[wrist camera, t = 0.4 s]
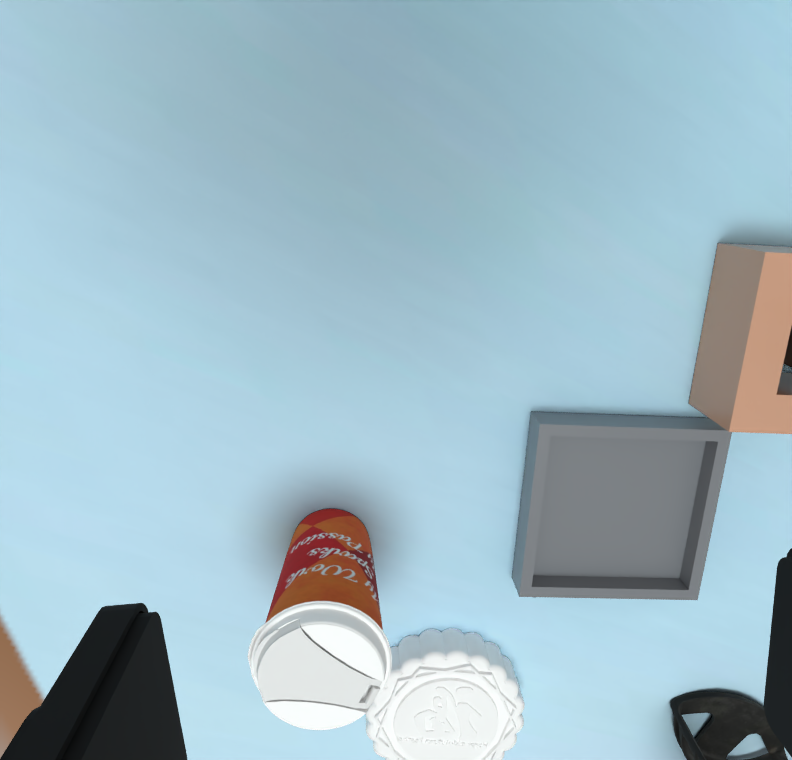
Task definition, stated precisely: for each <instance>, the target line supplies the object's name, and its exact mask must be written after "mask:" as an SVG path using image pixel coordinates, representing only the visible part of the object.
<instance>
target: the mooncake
mask: <svg viewBox="0 0 792 760" xmlns="http://www.w3.org/2000/svg"><path fill="white" fill-rule="evenodd" d="M390 648H391V655H392V666H391V671H390V676H389V678H388V681H387V683H386V685H385V687H384V688H383V690H382V691H381V693H380V694H379V695H378V696H377V698H376V699H375V700H374V702H373V703H372V705H370V706H369V708H368V711H367V712H366V713H365V714H366V733H367V735H368V737H369V738H370V739H371V740H373V748H374V751H375V752H376V754H378V755H379V756H381V757H385V758H386V760H502V759H503V757H504V751H507V750H509V749H511V748H512V747H513V746H514V745H515V743H516V741H517V735H516V733H518V732H519V731H520V730H521V729H522V727H523V724H524V720H523V716H522V712H523V710H524V700H523V697H522V694H521V691H520V687H519V684H518V681H517V678H516V676H515V674H514V670H513V667H512V664H511V661H510V660H509V659H508V658H507V657H506V656H503V655H501V652H500V649H499V647H498V646H497V645H496V644H495V643H492V642H484V640H483V638H482V637H481V636H480V635H479V634H477V633H473V632H470V633H466V634H463V632H462V631H460V630H459V629H456V628H448V629H445V630H444V631H442V632H440V631H439V630H436V629H428V630H425V631H423V632H422V633H421V634H420V635H419V636H416V635H410V636H406V637H404V638H403V639H402V640H401V641H400V643H399V646H393V647H390Z"/></svg>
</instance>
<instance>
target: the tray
mask: <svg viewBox="0 0 792 760" xmlns="http://www.w3.org/2000/svg"><path fill="white" fill-rule="evenodd" d="M731 434H732V432H729V431H727V430H726V429H724V428H723V427H721V426H720V425H719V424H717V423H716V422H714V421H713V420H711V419H710V418H698V417H670V416H642V415H614V414H585V413H557V412H531V415H530V424H529V433H528V441H527V450H526V459H525V467H524V476H523V485H522V493H521V502H520V511H519V519H518V528H517V537H516V545H515V554H514V563H513V571H512V579H513V581H514V584H515V587H516V589H517V592H518V595H519V597H565V598H617V599H670V600H698V595H699V590H700V585H701V580H702V576H703V571H704V566H705V561H706V556H707V551H708V546H709V541H710V536H711V532H712V527H713V522H714V517H715V512H716V507H717V502H718V497H719V492H720V488H721V483H722V478H723V473H724V468H725V463H726V458H727V453H728V448H729V444H730V439H731Z"/></svg>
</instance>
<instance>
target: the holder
mask: <svg viewBox="0 0 792 760" xmlns="http://www.w3.org/2000/svg"><path fill="white" fill-rule="evenodd" d="M670 705H671V708H672V710H673V714H674V723H673V724H674V731H675V736H676V738H677V741H678V743H679V745H680V747H681V748H682V751H683V753H684V755H685V757H686V759H687V760H728V759H726V757H727V755H728V754H729V753H730V752H731V751H732V750H733V749H734V748H735V747H736V746H737V745H738V744H739V743H740V742H741V741H742V740H743V739H744V738H745V737H746V736H747V735H749V734H755V733H757V734H759V735H761V737H762V739H763V741H764V743H765V746H766V748H767V750H768V752H769V753H767V754H765V755H762V756H760V757H756V758H752V759H745V760H788V759H787V756H786V754H785V750H784V746H783V745H782V743H781V742H780V741H779V739H778V738H777V737H776V735H775V734H774V733H773V731H772V729H771V728H770V726H769V724H768V721H767V718H766V715H765V710H764V707H763V706H761V705H760V704H758V703H756V702H754V701H752V700H750V699H747V698H745V697H743V696H740V695H735V694H729V693H724V692H695V693H689V694H685V695H681V696H678V697H676V698H675V699H673V700H672V701H670ZM693 713H710V714H712V719H711V720H710V721H709V722H708V723H707V725H706V726H705V727H704V728H703V730H702V731H701V732H700V733H699V734H698V736H697V737H696V738H695V739H694V737H693V735H692V734H691V732H690V730H689V728H688V726H687V725H686V723H685V721H684V719H683V717H682V715H683V714H693Z"/></svg>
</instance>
